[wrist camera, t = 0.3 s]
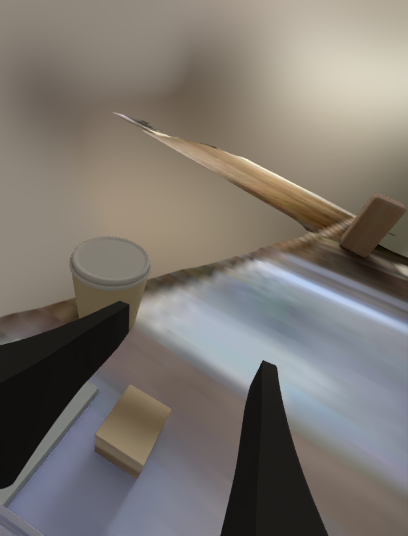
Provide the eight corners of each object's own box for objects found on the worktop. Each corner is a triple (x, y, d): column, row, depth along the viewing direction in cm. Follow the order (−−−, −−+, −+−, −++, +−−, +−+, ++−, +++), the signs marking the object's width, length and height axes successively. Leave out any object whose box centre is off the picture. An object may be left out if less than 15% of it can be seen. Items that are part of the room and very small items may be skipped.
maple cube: (136, 479, 23) (143, 465, 20) (94, 451, 24) (95, 434, 21) (162, 427, 27) (171, 409, 24) (126, 404, 28) (130, 384, 25)
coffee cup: (143, 300, 40) (154, 242, 33) (136, 348, 33) (148, 288, 26) (84, 292, 38) (83, 229, 31) (63, 343, 31) (55, 275, 24)
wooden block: (340, 238, 96) (375, 191, 84) (364, 250, 93) (404, 203, 81) (338, 246, 88) (376, 195, 76) (365, 259, 85) (408, 209, 73)
